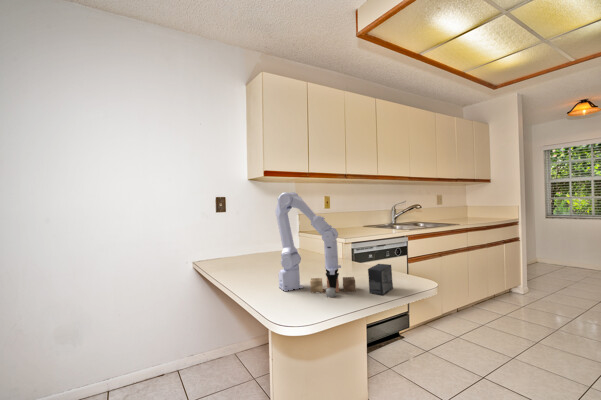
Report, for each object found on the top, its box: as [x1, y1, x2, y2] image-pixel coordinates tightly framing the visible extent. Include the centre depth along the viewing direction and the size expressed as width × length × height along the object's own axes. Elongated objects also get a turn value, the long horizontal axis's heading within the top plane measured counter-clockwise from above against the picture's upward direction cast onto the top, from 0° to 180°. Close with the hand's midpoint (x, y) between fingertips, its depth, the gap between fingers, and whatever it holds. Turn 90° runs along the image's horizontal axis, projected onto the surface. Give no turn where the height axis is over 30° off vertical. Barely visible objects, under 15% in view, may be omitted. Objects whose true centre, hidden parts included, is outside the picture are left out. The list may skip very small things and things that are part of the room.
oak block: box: [310, 277, 324, 293], centre depth 130 cm, size 5×5×5 cm
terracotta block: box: [326, 277, 340, 293], centre depth 129 cm, size 5×5×5 cm
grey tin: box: [325, 287, 337, 299], centre depth 122 cm, size 4×4×3 cm
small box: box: [367, 263, 394, 296], centre depth 125 cm, size 11×6×10 cm, turn 141°
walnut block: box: [342, 276, 357, 293], centre depth 129 cm, size 5×5×5 cm
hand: (332, 287), depth 129 cm, fingers closed on terracotta block, 5 cm apart
